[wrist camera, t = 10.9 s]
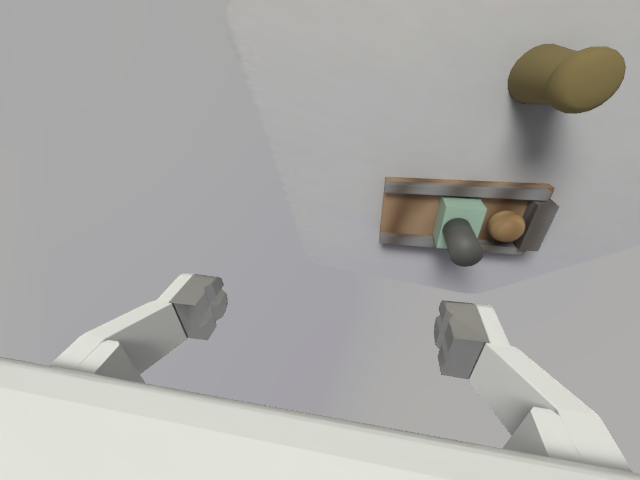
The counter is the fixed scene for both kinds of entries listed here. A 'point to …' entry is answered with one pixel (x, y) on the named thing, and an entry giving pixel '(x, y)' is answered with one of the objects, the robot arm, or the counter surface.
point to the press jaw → (460, 228)
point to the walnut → (506, 226)
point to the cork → (567, 77)
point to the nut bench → (424, 196)
